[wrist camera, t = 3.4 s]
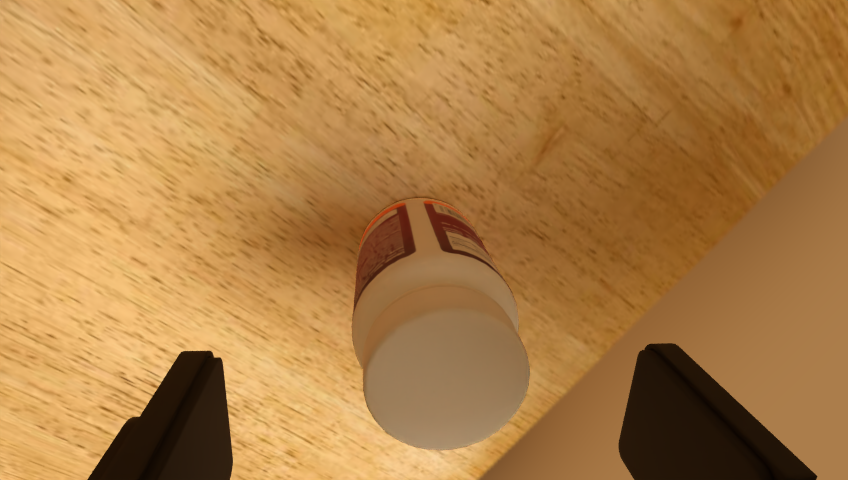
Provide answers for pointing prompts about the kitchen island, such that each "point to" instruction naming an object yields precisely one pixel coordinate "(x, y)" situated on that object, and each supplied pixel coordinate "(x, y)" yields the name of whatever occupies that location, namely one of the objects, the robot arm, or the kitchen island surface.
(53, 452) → the kitchen island surface
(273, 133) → the kitchen island surface
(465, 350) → the pill bottle
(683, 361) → the robot arm
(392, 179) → the kitchen island surface
